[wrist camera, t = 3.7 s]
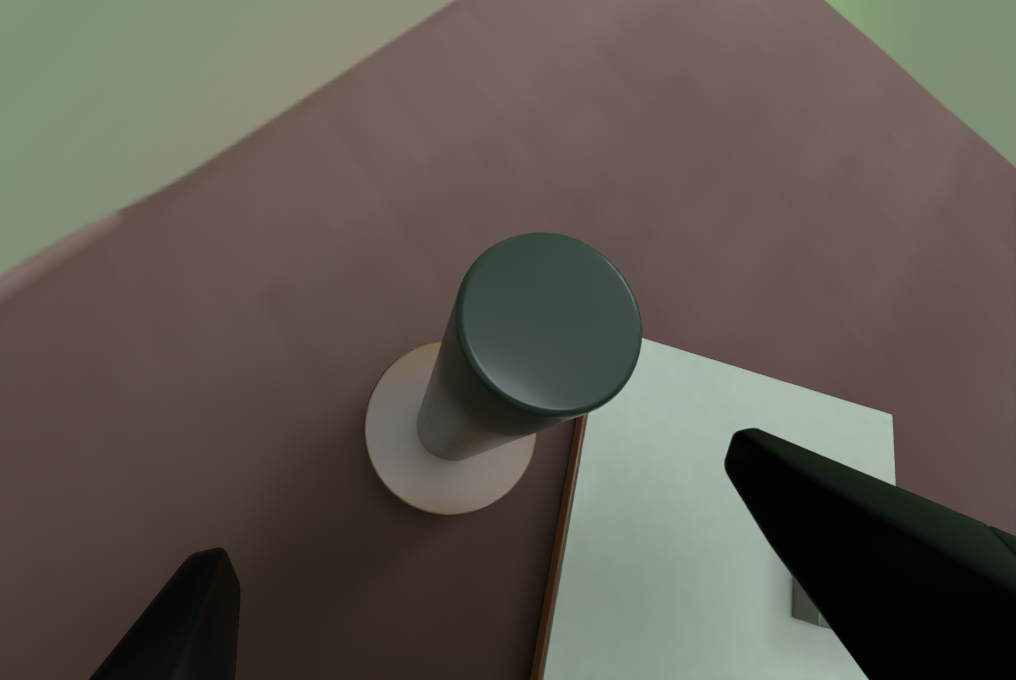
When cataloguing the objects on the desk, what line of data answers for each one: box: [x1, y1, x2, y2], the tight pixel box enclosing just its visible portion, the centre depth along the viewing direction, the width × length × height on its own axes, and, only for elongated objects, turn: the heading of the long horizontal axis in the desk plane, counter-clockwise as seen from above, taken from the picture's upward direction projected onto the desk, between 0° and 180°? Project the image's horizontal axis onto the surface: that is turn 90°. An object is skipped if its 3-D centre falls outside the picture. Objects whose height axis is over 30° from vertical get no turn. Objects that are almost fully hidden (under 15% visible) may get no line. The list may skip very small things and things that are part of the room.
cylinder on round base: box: [364, 233, 642, 516], centre depth 11 cm, size 5×5×13 cm
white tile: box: [530, 338, 896, 680], centre depth 18 cm, size 14×14×1 cm
